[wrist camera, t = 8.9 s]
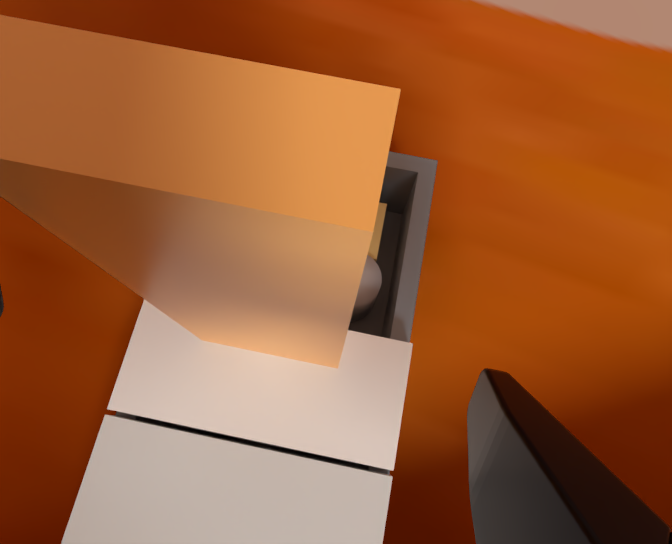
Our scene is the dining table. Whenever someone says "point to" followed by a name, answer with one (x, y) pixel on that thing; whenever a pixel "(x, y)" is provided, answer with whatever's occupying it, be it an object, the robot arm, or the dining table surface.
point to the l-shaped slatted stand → (216, 281)
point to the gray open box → (380, 271)
